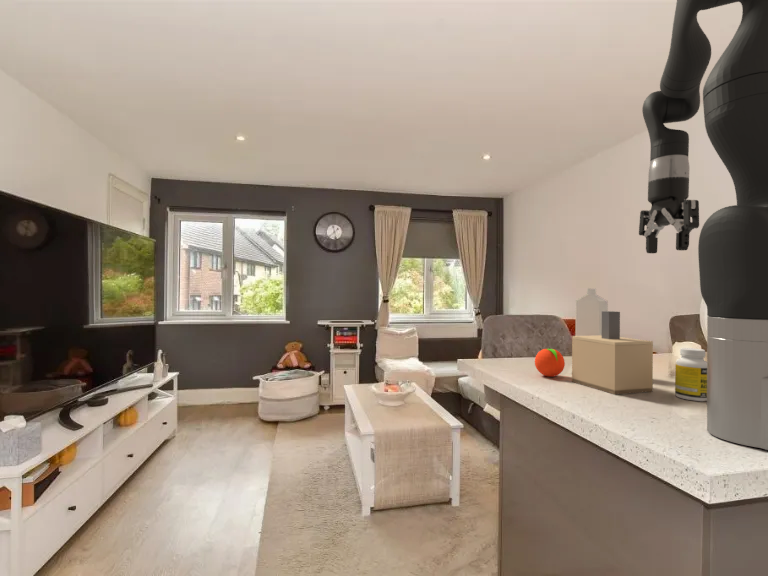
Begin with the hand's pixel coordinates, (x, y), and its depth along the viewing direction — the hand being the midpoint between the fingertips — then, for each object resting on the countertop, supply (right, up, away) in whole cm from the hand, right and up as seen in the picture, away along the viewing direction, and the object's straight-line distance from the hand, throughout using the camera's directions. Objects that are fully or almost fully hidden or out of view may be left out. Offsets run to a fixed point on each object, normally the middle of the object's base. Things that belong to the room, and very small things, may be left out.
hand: (665, 251), depth 90 cm
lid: (-13, -20, -1) cm, 24 cm away
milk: (-9, -31, +16) cm, 35 cm away
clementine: (-22, -30, +9) cm, 39 cm away
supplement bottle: (-2, -30, -11) cm, 32 cm away
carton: (-13, -30, -1) cm, 33 cm away
